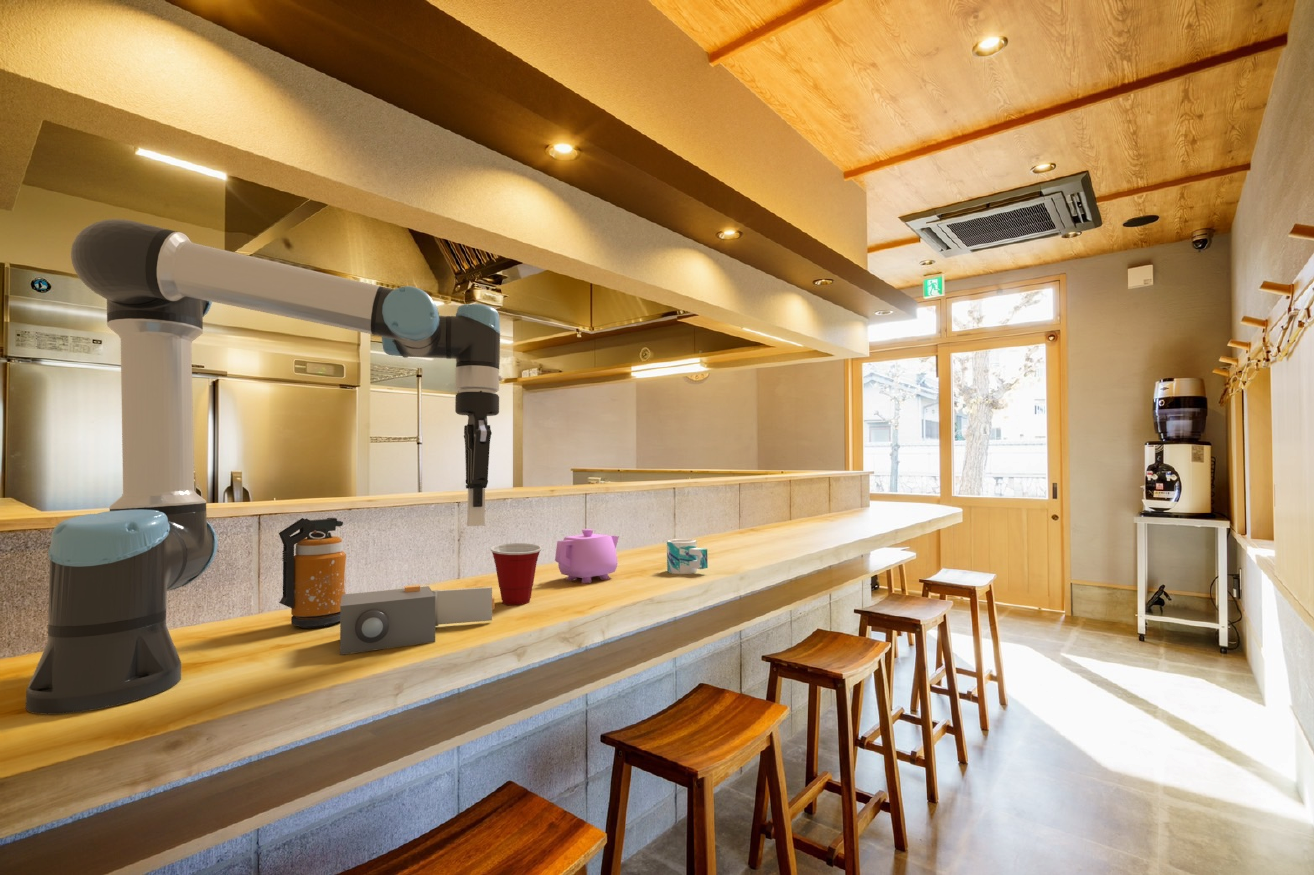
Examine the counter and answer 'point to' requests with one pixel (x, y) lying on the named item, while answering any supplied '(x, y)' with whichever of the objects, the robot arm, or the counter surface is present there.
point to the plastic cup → (515, 570)
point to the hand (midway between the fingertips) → (475, 525)
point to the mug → (685, 556)
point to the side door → (463, 605)
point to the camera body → (386, 619)
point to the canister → (313, 572)
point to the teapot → (587, 556)
